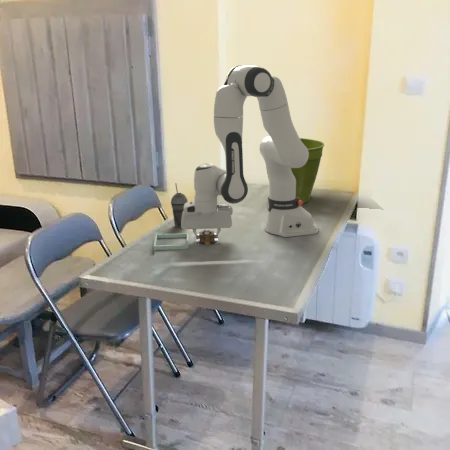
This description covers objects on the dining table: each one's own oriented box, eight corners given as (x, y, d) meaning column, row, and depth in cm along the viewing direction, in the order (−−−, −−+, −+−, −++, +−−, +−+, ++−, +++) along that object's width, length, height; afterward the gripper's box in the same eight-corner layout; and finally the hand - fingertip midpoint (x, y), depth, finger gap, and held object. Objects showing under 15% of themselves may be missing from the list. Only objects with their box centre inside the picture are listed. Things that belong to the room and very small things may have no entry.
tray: (188, 238, 214) (188, 233, 213) (188, 251, 202) (188, 245, 201) (156, 239, 213) (155, 234, 212) (153, 252, 201) (153, 246, 200)
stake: (217, 237, 214) (217, 226, 213) (218, 246, 206) (218, 233, 204) (195, 238, 214) (195, 226, 212) (195, 246, 206) (195, 234, 204)
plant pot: (253, 205, 256) (254, 146, 247) (272, 189, 282) (273, 136, 273) (313, 211, 246) (316, 150, 236) (327, 194, 272) (330, 139, 262)
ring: (199, 237, 212) (199, 230, 211) (214, 237, 213) (214, 230, 212) (199, 245, 204) (199, 238, 203) (215, 244, 204) (214, 237, 203)
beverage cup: (186, 231, 222) (184, 185, 216) (169, 230, 224) (167, 185, 217) (190, 225, 229) (189, 181, 222) (174, 224, 230) (172, 180, 224)
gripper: (232, 202, 208) (232, 234, 213) (180, 203, 207) (181, 236, 212) (233, 206, 202) (233, 240, 207) (180, 208, 201) (181, 242, 206)
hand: (206, 238), depth 209 cm, fingers closed on ring, 6 cm apart
